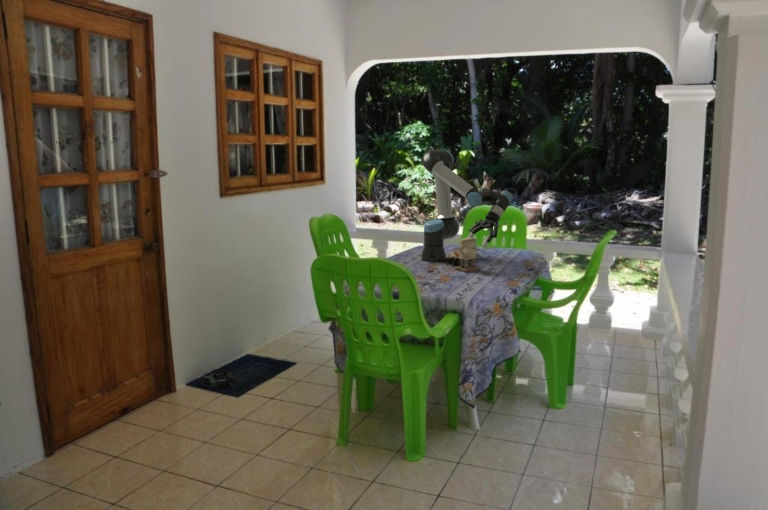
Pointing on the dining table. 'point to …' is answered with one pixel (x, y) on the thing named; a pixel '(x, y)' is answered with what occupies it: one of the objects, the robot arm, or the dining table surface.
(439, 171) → the robot arm
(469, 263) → the stand
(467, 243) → the beige mottled block
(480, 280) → the dining table surface
